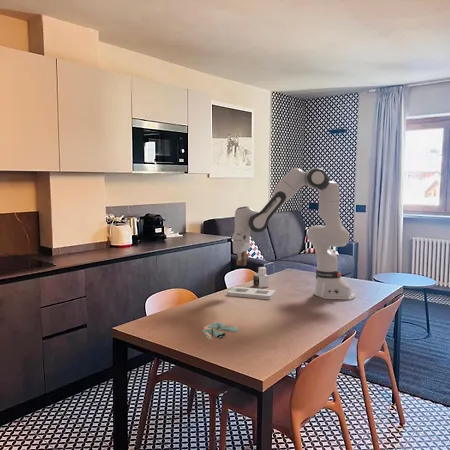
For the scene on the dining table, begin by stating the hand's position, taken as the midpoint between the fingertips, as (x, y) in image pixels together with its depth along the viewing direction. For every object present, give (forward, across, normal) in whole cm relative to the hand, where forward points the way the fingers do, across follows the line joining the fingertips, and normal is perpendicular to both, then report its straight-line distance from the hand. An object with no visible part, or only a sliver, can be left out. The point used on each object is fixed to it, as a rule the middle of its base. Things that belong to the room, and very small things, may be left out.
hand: (241, 259), depth 239 cm
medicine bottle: (+20, -21, +6) cm, 29 cm away
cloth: (+22, +60, +11) cm, 65 cm away
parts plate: (+20, -1, +6) cm, 21 cm away
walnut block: (+3, 0, 0) cm, 3 cm away
